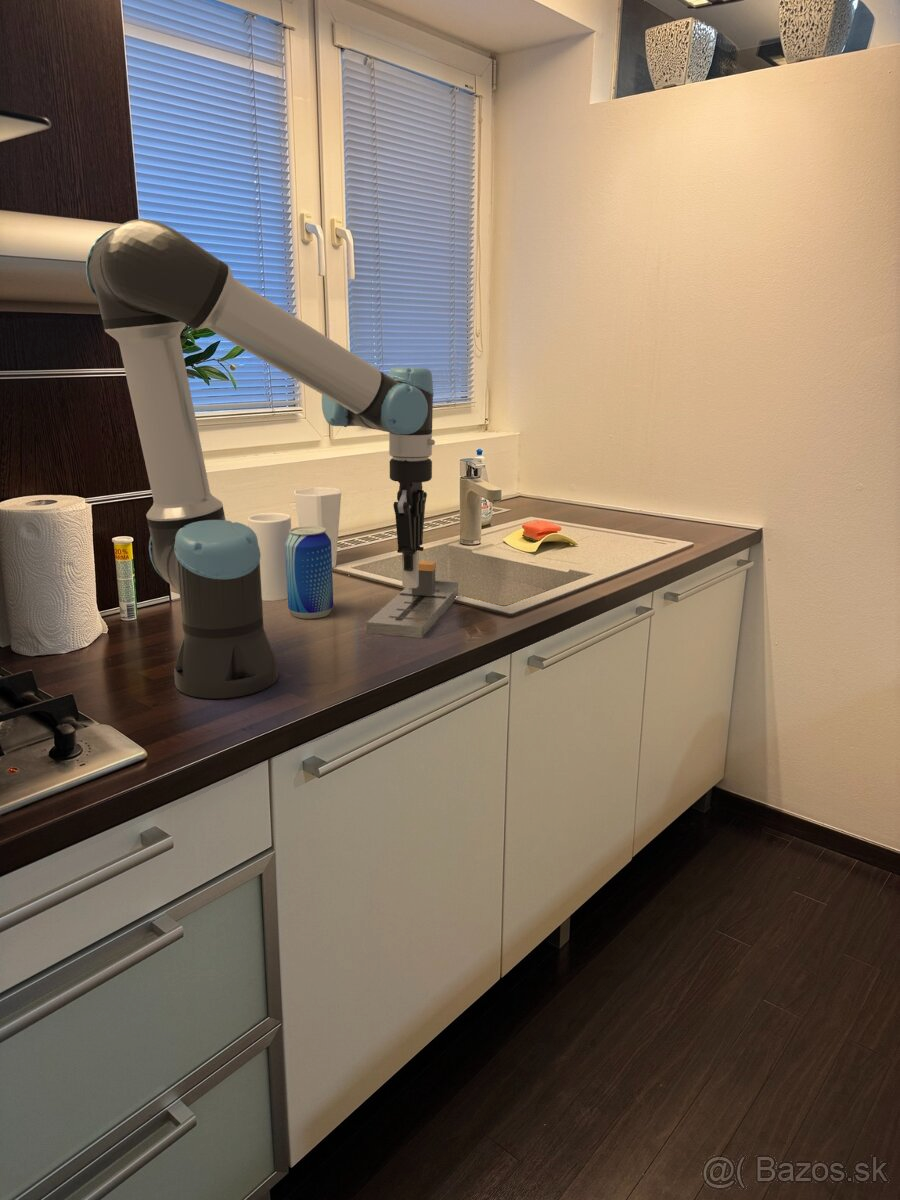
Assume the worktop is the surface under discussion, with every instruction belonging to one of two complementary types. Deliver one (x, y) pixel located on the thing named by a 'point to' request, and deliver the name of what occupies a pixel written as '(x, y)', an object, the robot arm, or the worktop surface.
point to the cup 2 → (320, 511)
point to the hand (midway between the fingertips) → (410, 586)
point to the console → (413, 611)
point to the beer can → (309, 572)
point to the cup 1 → (272, 552)
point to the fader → (426, 579)
